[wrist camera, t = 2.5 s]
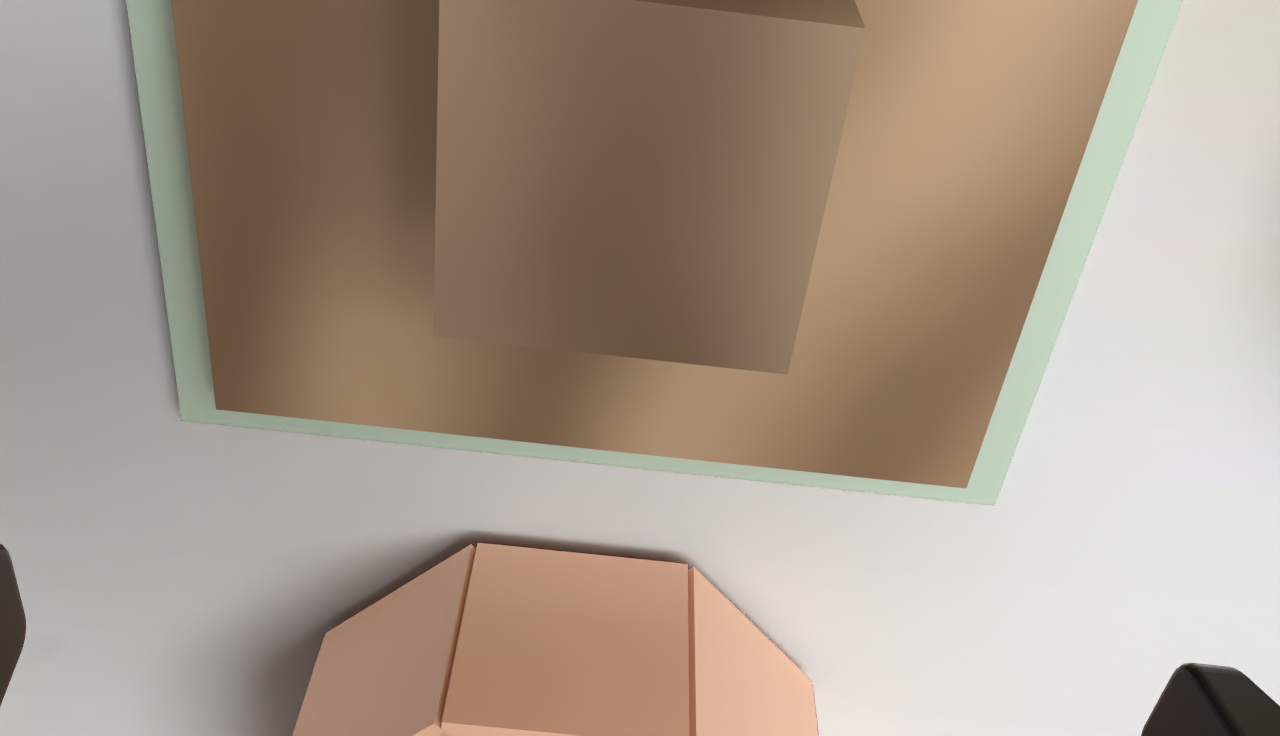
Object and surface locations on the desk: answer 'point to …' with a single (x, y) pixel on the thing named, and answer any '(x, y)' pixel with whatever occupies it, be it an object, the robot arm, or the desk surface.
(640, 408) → the lid
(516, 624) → the bowl
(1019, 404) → the mat
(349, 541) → the desk surface
